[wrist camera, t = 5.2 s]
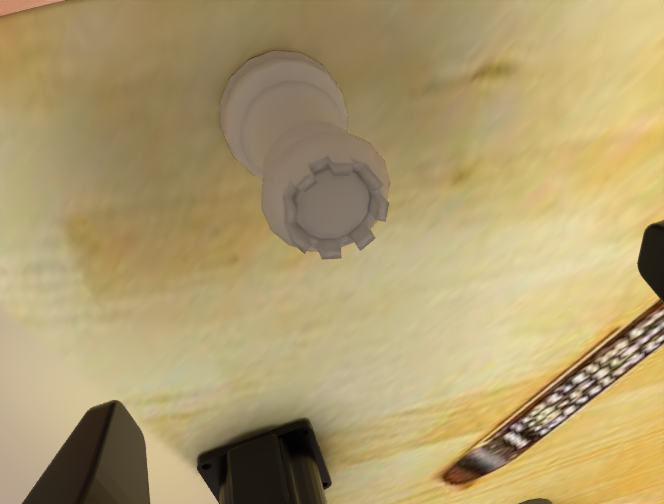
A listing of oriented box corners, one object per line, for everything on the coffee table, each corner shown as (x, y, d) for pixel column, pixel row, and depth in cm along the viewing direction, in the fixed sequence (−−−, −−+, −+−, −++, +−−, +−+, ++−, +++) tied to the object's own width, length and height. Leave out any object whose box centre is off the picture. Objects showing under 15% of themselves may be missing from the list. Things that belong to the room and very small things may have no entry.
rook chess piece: (355, 66, 18) (456, 141, 11) (320, 179, 20) (389, 299, 13) (231, 31, 16) (264, 95, 9) (208, 158, 18) (222, 282, 11)
